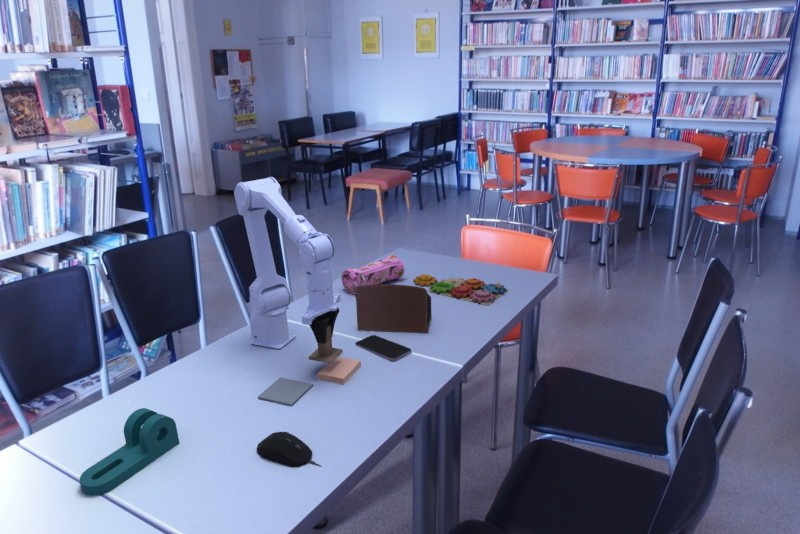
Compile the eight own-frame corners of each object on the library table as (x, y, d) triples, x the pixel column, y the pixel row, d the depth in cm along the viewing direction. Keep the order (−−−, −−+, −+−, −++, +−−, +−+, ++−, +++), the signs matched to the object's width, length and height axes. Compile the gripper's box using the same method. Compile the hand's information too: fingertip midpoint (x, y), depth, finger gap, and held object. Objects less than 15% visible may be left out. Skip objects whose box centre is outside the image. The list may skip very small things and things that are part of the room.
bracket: (157, 434, 120) (150, 401, 117) (179, 444, 116) (173, 410, 114) (74, 489, 105) (64, 452, 102) (97, 501, 102) (87, 464, 99)
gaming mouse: (311, 478, 106) (309, 460, 104) (250, 454, 113) (248, 437, 111) (331, 458, 111) (330, 440, 110) (272, 437, 118) (270, 420, 117)
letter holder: (428, 334, 159) (427, 286, 154) (357, 331, 162) (354, 284, 157) (431, 318, 168) (431, 273, 163) (364, 316, 171) (362, 271, 166)
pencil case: (357, 299, 184) (355, 272, 181) (339, 291, 190) (338, 265, 187) (407, 281, 197) (406, 256, 194) (389, 274, 204) (388, 250, 201)
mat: (257, 398, 131) (257, 396, 131) (280, 379, 139) (280, 377, 138) (291, 406, 127) (291, 404, 127) (313, 385, 135) (312, 383, 135)
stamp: (308, 359, 139) (305, 330, 136) (321, 348, 144) (318, 319, 142) (330, 363, 137) (328, 334, 134) (342, 352, 142) (340, 323, 139)
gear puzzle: (403, 288, 192) (403, 277, 190) (430, 273, 204) (429, 263, 203) (488, 308, 175) (488, 295, 173) (511, 291, 187) (512, 279, 185)
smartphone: (373, 334, 159) (413, 349, 149) (373, 337, 159) (413, 353, 149) (353, 343, 154) (393, 359, 144) (353, 347, 155) (393, 363, 144)
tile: (317, 373, 138) (343, 378, 135) (335, 356, 145) (360, 360, 143) (317, 380, 138) (344, 386, 136) (336, 363, 146) (361, 367, 143)
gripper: (319, 301, 127) (324, 356, 131) (349, 278, 139) (353, 329, 144) (291, 297, 129) (297, 351, 134) (324, 275, 142) (328, 325, 147)
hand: (324, 339), depth 139 cm, fingers closed on stamp, 2 cm apart
